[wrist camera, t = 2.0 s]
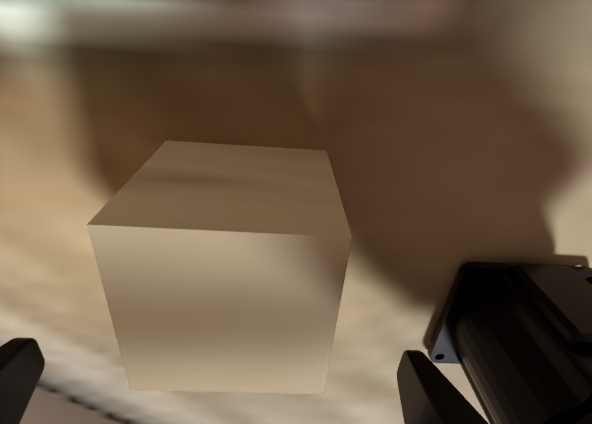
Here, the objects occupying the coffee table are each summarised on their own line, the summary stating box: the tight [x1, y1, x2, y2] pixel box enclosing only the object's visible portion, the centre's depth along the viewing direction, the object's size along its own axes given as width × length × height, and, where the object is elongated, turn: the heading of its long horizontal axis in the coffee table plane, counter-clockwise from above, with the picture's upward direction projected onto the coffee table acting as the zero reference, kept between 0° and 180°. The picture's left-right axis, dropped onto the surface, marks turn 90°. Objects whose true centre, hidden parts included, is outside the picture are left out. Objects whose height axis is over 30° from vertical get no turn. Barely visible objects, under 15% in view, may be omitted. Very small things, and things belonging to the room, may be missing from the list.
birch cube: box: [87, 141, 352, 394], centre depth 12 cm, size 6×6×6 cm
